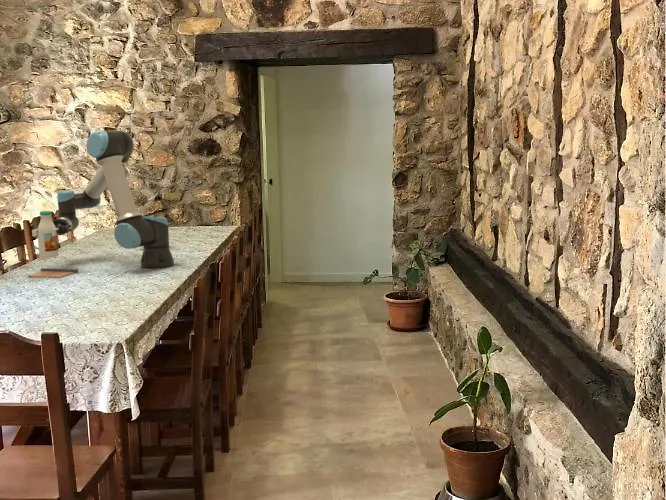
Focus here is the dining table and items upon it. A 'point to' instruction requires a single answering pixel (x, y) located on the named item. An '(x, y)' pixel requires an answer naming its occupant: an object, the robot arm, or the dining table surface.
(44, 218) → the milk bottle
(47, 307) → the dining table surface
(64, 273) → the tile
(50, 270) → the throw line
